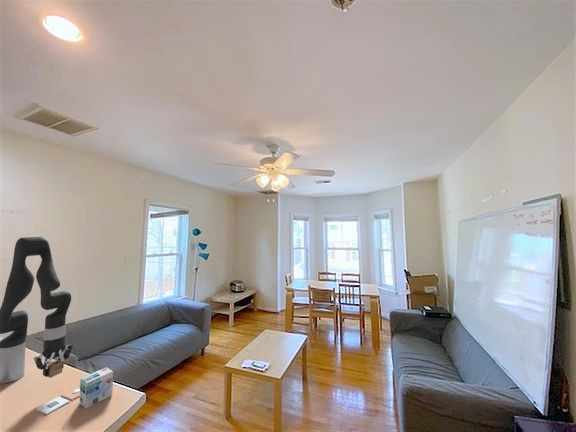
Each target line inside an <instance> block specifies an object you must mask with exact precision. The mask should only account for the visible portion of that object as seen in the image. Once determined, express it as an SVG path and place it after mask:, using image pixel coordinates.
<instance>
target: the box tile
mask: <svg viewBox="0 0 576 432" xmlns="http://www.w3.org/2000/svg"><path fill="white" fill-rule="evenodd" d="M70 402H71V400H69V399H67V398H64V397H62V396H57V397H55V398H53V399H51V400H49V401H47V402H45V403H43V404H41V405H40V406H37V407H36V408H35V411H38V412H40V413H42V414H45V415H50V414H51V413H53V412H55V411H56V410H58V409H60V408H62V407H63V406H65V405H67V404H69V403H70Z"/></svg>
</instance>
